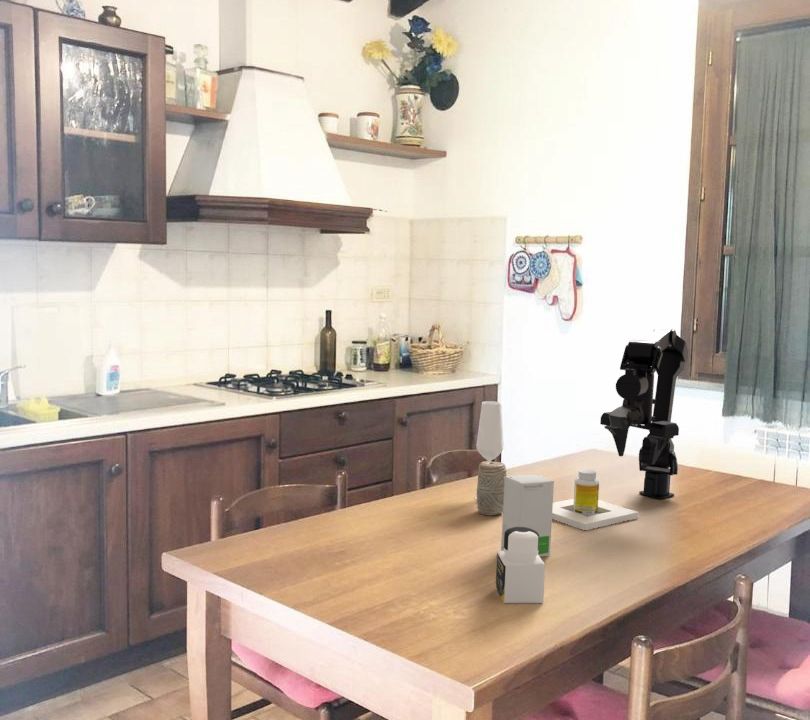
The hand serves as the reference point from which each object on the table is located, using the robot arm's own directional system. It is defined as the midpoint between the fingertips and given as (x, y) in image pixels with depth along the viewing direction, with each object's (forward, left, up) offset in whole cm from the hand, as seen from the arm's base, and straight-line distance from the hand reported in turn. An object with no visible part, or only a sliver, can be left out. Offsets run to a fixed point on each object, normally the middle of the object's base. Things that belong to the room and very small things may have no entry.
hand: (636, 460), depth 206 cm
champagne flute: (+21, -28, -13) cm, 37 cm away
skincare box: (+42, +7, -13) cm, 45 cm away
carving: (+29, -18, -13) cm, 37 cm away
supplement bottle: (+11, -5, -13) cm, 18 cm away
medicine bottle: (+59, +23, -13) cm, 65 cm away
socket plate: (+11, -5, -13) cm, 18 cm away
